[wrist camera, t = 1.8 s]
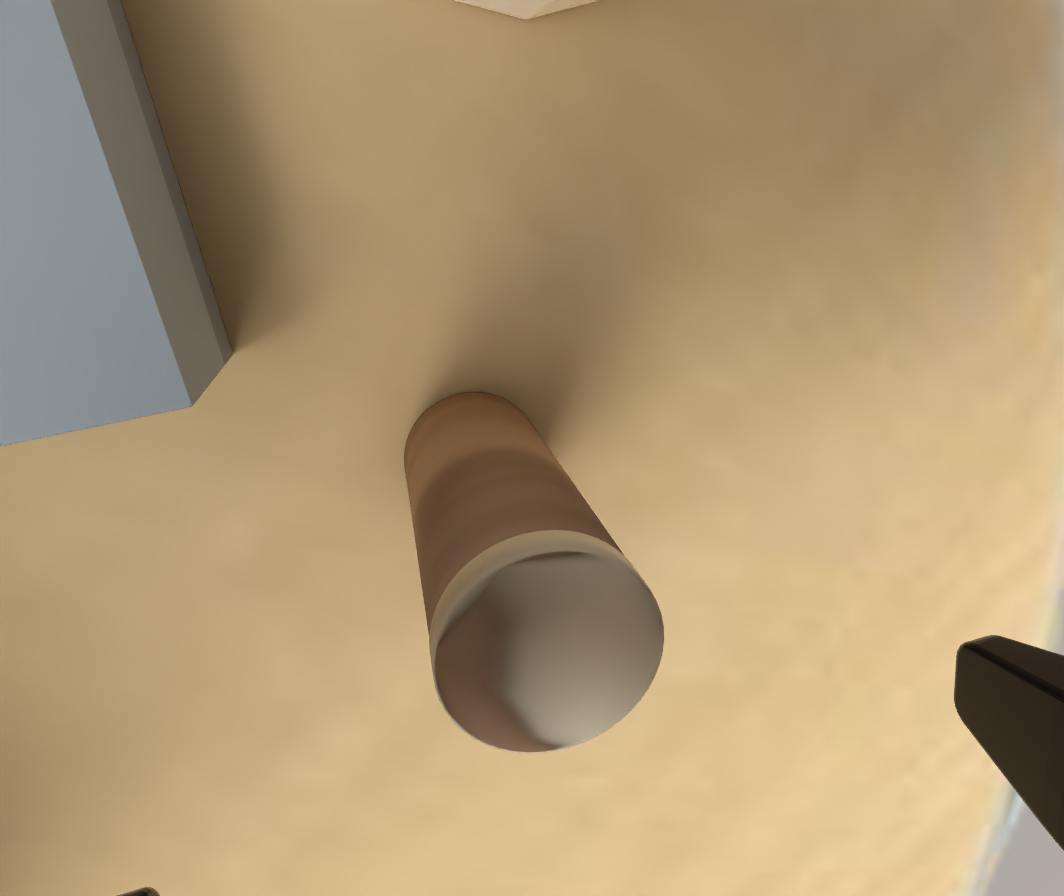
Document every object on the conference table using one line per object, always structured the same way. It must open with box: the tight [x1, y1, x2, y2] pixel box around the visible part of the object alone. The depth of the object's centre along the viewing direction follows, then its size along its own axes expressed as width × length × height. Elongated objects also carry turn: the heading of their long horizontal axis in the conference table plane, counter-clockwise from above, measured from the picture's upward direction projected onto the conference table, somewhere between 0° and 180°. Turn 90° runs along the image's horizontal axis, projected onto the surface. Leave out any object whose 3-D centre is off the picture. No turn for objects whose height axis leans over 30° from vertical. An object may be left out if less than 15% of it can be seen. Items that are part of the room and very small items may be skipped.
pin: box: [404, 392, 664, 753], centre depth 14 cm, size 3×3×8 cm
